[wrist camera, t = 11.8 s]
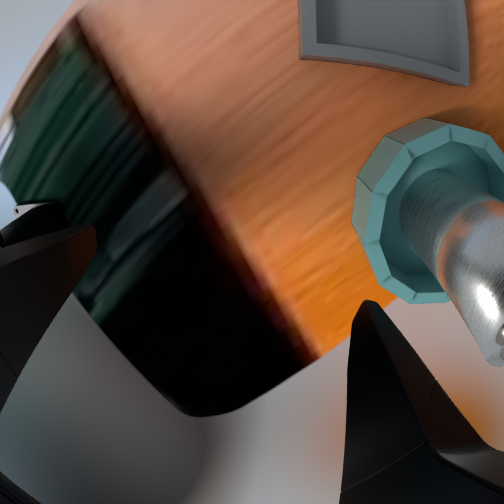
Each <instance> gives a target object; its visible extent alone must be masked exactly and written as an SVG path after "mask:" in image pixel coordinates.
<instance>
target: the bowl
mask: <svg viewBox="0 0 504 504" xmlns="http://www.w3.org/2000/svg"><path fill="white" fill-rule="evenodd" d="M432 169H447V170H450V171H452V172H454V173H456V174H458V175H459V176H461V177H463V178H465V179H466V180H468V181H470V182H471V183H473V184H475V185H476V186H478V187H480V188H481V189H483V190H484V191H486V192H488V193H489V194H491V195H492V196H494V197H495V198H497V199H498V200H500V201H501V202H503V203H504V153H503V152H502V151H501V149H500V148H499V147H498V145H497V144H496V143H495V141H494V140H493V139H492V138H491V136H490V135H488V134H485V133H482V132H479V131H475V130H472V129H469V128H465V127H462V126H458V125H454V124H450V123H446V122H442V121H438V120H433V119H428V118H422V119H420V120H418V121H415V122H413V123H411V124H409V125H406V126H404V127H402V128H400V129H398V130H395V131H393V132H391V133H389V134H387V135H385V136H384V137H383V138H382V140H381V141H380V143H379V144H378V146H377V147H376V149H375V150H374V152H373V153H372V154H371V156H370V157H369V159H368V160H367V162H366V163H365V165H364V166H363V168H362V169H361V170H360V172H359V173H358V175H357V179H356V189H355V198H354V206H353V214H352V225H353V227H354V229H355V232H356V234H357V236H358V239H359V241H360V243H361V246H362V248H363V250H364V253H365V255H366V258H367V260H368V262H369V264H370V266H371V268H372V270H373V272H374V274H375V276H376V279H377V281H378V283H379V285H380V286H382V287H383V288H385V289H387V290H388V291H390V292H392V293H393V294H395V295H397V296H398V297H400V298H401V299H403V300H405V301H407V302H408V303H409V304H410V303H411V304H424V303H445V302H448V301H450V298H449V297H448V295H447V294H446V292H445V291H444V289H443V288H442V286H441V285H440V284H439V282H438V281H437V279H436V278H435V276H434V275H433V274H432V272H431V271H430V269H429V268H428V267H427V265H426V264H425V263H424V261H423V260H422V258H421V257H420V256H419V254H418V253H417V252H416V251H415V249H414V248H413V247H412V245H411V244H410V243H409V241H408V240H407V239H406V237H405V236H404V234H403V232H402V230H401V226H400V221H399V211H400V205H401V201H402V198H403V196H404V194H405V192H406V190H407V188H408V187H409V186H410V184H411V183H412V182H413V181H414V180H415V179H416V178H417V177H418V176H420V175H421V174H423V173H424V172H427V171H429V170H432Z"/></svg>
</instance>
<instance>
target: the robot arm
mask: <svg viewBox="0 0 504 504" xmlns="http://www.w3.org/2000/svg"><path fill="white" fill-rule="evenodd" d="M55 205H56V206H55ZM56 207H57V208H56ZM14 213H15V217H16V219H15V220H14V221H12V222H11V223H10V224H8V225H7V226H5V227H4V228H3V229H1V230H0V413H1V411H2V409H3V407H4V405H5V403H6V401H7V399H8V397H9V395H10V393H11V391H12V389H13V387H14V385H15V383H16V381H17V379H18V377H19V376H20V374H21V372H22V370H23V368H24V367H25V365H26V363H27V361H28V360H29V358H30V356H31V355H32V353H33V351H34V349H35V347H36V346H37V344H38V343H39V341H40V340H41V338H42V336H43V335H44V333H45V331H46V330H47V328H48V327H49V325H50V324H51V322H52V321H53V319H54V318H55V316H56V315H57V313H58V312H59V310H60V309H61V307H62V306H63V304H64V303H65V301H66V300H67V298H68V297H69V296H70V294H71V293H72V291H73V290H74V288H75V287H76V285H77V284H78V282H79V280H80V279H81V277H82V275H83V274H84V272H85V270H86V269H87V267H88V265H89V264H90V262H91V260H92V259H93V257H94V255H95V254H96V251H97V240H96V231H95V228H94V227H93V226H91V225H88V224H81V225H77V226H74V227H70V228H67V227H66V223H65V219H64V214H63V210H62V206H61V203H60V202H59V201H47V202H36V203H27V204H18V205H16V206H15V207H14ZM0 504H42V503H40V502H39V501H38V500H36V499H35V498H33V497H32V496H30V495H29V494H28V493H27V492H25V491H24V490H23V489H21V488H20V487H19V486H17V485H16V484H15V483H14V482H12V481H11V480H10V479H9V478H8V477H6V476H5V475H4V474H3V473H2V472H1V471H0ZM339 504H504V452H502V451H499V450H496V449H494V448H492V447H491V446H489V445H488V444H487V443H485V442H484V441H483V439H482V438H481V437H480V436H479V434H478V433H477V432H476V431H475V429H474V428H473V427H472V426H471V424H470V423H469V422H468V421H467V419H466V418H465V417H464V416H463V414H461V412H460V411H459V409H458V408H457V407H456V406H455V404H454V403H453V402H452V401H451V399H450V398H449V397H448V395H447V394H446V392H445V391H444V390H443V389H442V387H441V386H440V384H439V383H438V381H437V380H435V377H434V376H433V375H432V373H431V372H430V370H429V369H428V368H427V366H426V365H425V364H424V362H423V361H422V359H421V358H420V357H419V355H418V354H417V353H416V351H415V350H414V349H413V348H412V346H411V345H410V344H409V342H408V341H407V340H406V338H405V337H404V336H403V335H402V333H401V332H400V331H399V329H398V328H397V327H396V326H395V324H394V323H393V322H392V320H391V319H390V318H389V317H388V316H387V314H386V313H385V312H384V310H383V309H382V308H381V307H380V305H379V304H378V303H377V302H374V301H370V300H364V301H363V302H362V304H361V306H360V308H359V310H358V311H357V313H356V315H355V317H354V319H353V322H352V328H351V339H350V349H349V357H348V367H347V413H346V434H345V449H344V462H343V474H342V484H341V493H340V500H339Z"/></svg>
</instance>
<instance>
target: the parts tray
mask: <svg viewBox="0 0 504 504" xmlns="http://www.w3.org/2000/svg"><path fill="white" fill-rule="evenodd" d="M298 9H299V59H301V60H316V61H328V62H338V63H346V64H354V65H361V66H368V67H374V68H380V69H385V70H391V71H396V72H400V73H405V74H410V75H414V76H418V77H422V78H426V79H430V80H434V81H437V82H441V83H444V84H448V85H451V86H462V87H469V42H468V28H467V18H466V9H465V1H464V0H298Z"/></svg>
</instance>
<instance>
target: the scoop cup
mask: <svg viewBox="0 0 504 504" xmlns="http://www.w3.org/2000/svg"><path fill="white" fill-rule="evenodd" d="M399 221H400V226H401V230H402V232H403V234H404V236H405V237H406V239H407V240H408V241H409V243H410V244H411V245H412V247H413V248H414V249H415V251H416V252H417V253H418V254H419V256H420V257H421V258H422V260H423V261H424V263H425V264H426V265H427V267H428V268H429V269H430V271H431V272H432V274H433V275H434V276H435V278H436V279H437V281H438V282H439V284H440V285H441V286H442V288H443V289H444V291H445V292H446V294H447V295H448V297H449V298H450V300H451V301H452V303H453V304H454V306H455V308H456V309H457V310H458V312H459V314H460V315H461V317H462V319H463V320H464V322H465V323H466V325H467V326H468V328H469V330H470V332H471V333H472V335H473V337H474V339H475V340H476V342H477V344H478V345H479V347H480V349H481V351H482V353H483V354H484V356H485V358H486V360H487V361H488V363H489V364H491V365H493V366H498V367H501V366H504V203H503V202H501V201H500V200H498V199H497V198H495V197H494V196H492V195H491V194H489V193H488V192H486V191H484V190H483V189H481V188H480V187H478V186H476V185H475V184H473V183H471V182H470V181H468V180H466V179H465V178H463V177H461V176H459V175H458V174H456V173H454V172H452V171H450V170H447V169H432V170H429V171H427V172H424V173H423V174H421V175H420V176H418V177H417V178H416V179H415V180H414V181H413V182H412V183H411V184H410V186H409V187H408V188H407V190H406V192H405V194H404V196H403V198H402V201H401V205H400V211H399Z"/></svg>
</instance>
